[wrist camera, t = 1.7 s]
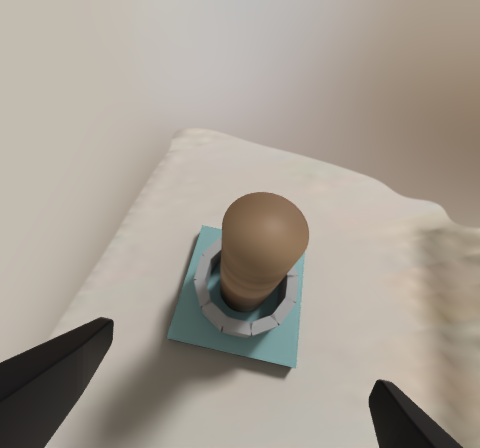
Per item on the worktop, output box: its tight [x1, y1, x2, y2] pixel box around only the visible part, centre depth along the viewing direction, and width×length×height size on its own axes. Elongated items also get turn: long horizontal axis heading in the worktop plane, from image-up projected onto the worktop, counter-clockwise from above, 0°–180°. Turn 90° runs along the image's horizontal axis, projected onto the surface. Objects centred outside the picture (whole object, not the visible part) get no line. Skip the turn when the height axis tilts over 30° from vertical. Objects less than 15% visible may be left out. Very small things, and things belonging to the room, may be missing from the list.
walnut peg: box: [220, 192, 309, 313], centre depth 16 cm, size 4×4×11 cm
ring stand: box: [167, 225, 305, 368], centre depth 20 cm, size 10×10×4 cm
